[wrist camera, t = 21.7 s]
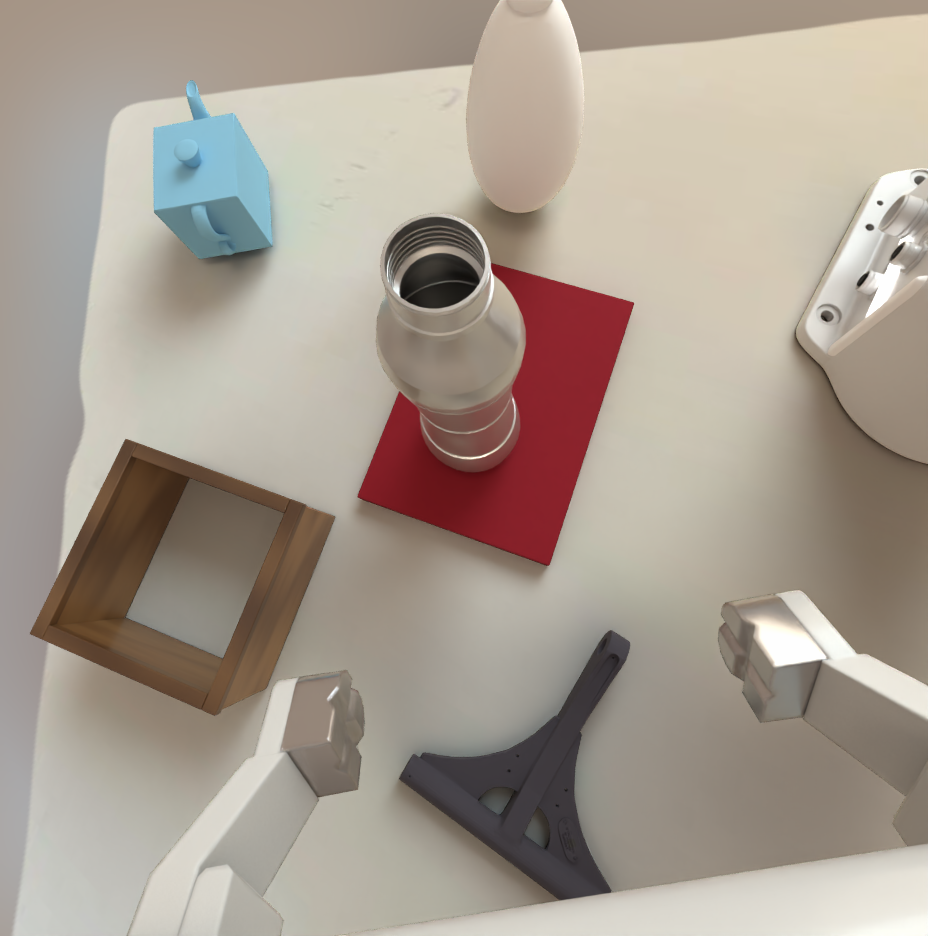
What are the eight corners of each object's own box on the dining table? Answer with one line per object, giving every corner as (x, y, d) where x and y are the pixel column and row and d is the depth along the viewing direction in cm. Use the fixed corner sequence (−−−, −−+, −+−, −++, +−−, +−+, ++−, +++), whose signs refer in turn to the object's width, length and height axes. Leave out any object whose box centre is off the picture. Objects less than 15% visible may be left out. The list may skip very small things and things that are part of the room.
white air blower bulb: (568, 153, 41) (616, -157, 24) (571, 238, 40) (625, -28, 22) (472, 157, 42) (451, -143, 25) (471, 241, 40) (447, -15, 23)
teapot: (202, 159, 44) (142, 75, 37) (270, 146, 44) (224, 60, 36) (206, 282, 42) (142, 219, 34) (278, 270, 41) (229, 203, 34)
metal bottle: (465, 497, 35) (416, 399, 16) (407, 424, 36) (297, 249, 17) (538, 441, 35) (581, 276, 16) (478, 370, 37) (451, 139, 17)
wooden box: (186, 460, 38) (125, 438, 32) (337, 516, 37) (303, 503, 30) (110, 624, 36) (28, 633, 30) (266, 691, 35) (214, 716, 28)
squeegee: (716, 698, 32) (736, 709, 30) (600, 921, 30) (609, 955, 28) (521, 574, 35) (522, 573, 32) (401, 772, 33) (392, 789, 30)
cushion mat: (456, 262, 40) (454, 252, 39) (630, 310, 38) (634, 302, 37) (361, 499, 37) (357, 496, 36) (547, 566, 35) (549, 565, 34)
